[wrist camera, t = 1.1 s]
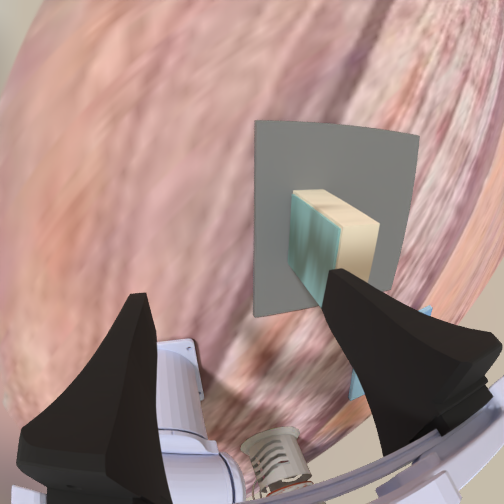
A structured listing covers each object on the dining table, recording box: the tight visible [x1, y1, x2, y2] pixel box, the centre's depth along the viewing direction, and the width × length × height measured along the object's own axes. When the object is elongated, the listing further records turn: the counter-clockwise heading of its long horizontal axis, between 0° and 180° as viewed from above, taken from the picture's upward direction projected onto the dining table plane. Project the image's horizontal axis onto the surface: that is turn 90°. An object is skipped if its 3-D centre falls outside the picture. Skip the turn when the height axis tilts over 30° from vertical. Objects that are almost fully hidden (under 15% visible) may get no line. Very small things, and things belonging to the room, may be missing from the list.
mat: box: [253, 120, 420, 318], centre depth 24 cm, size 16×15×1 cm
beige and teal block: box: [288, 189, 380, 309], centre depth 19 cm, size 6×3×7 cm, turn 0°
